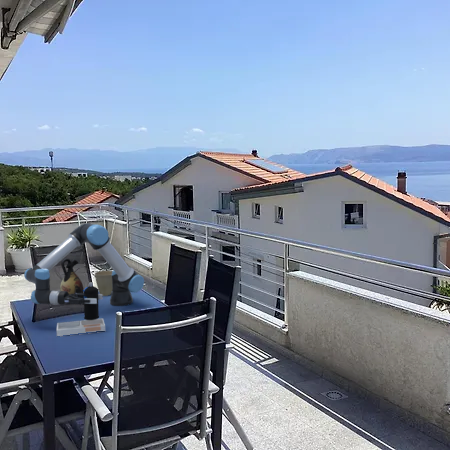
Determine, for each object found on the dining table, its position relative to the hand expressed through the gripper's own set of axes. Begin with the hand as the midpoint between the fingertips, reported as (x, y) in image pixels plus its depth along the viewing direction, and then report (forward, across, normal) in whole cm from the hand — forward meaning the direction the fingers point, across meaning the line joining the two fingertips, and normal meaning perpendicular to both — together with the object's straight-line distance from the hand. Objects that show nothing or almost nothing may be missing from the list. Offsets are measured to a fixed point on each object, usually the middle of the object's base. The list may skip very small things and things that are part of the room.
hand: (99, 298), depth 251 cm
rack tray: (-10, +2, -18) cm, 20 cm away
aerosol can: (-5, 0, -11) cm, 12 cm away
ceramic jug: (-39, -52, -18) cm, 68 cm away
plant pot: (-22, -72, -17) cm, 77 cm away
